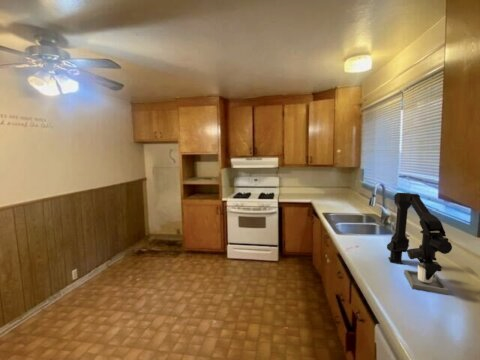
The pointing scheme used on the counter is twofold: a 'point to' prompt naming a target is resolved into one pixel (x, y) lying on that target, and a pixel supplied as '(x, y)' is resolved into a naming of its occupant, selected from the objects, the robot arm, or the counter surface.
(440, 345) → the counter surface
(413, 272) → the tray
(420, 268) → the cream cup
